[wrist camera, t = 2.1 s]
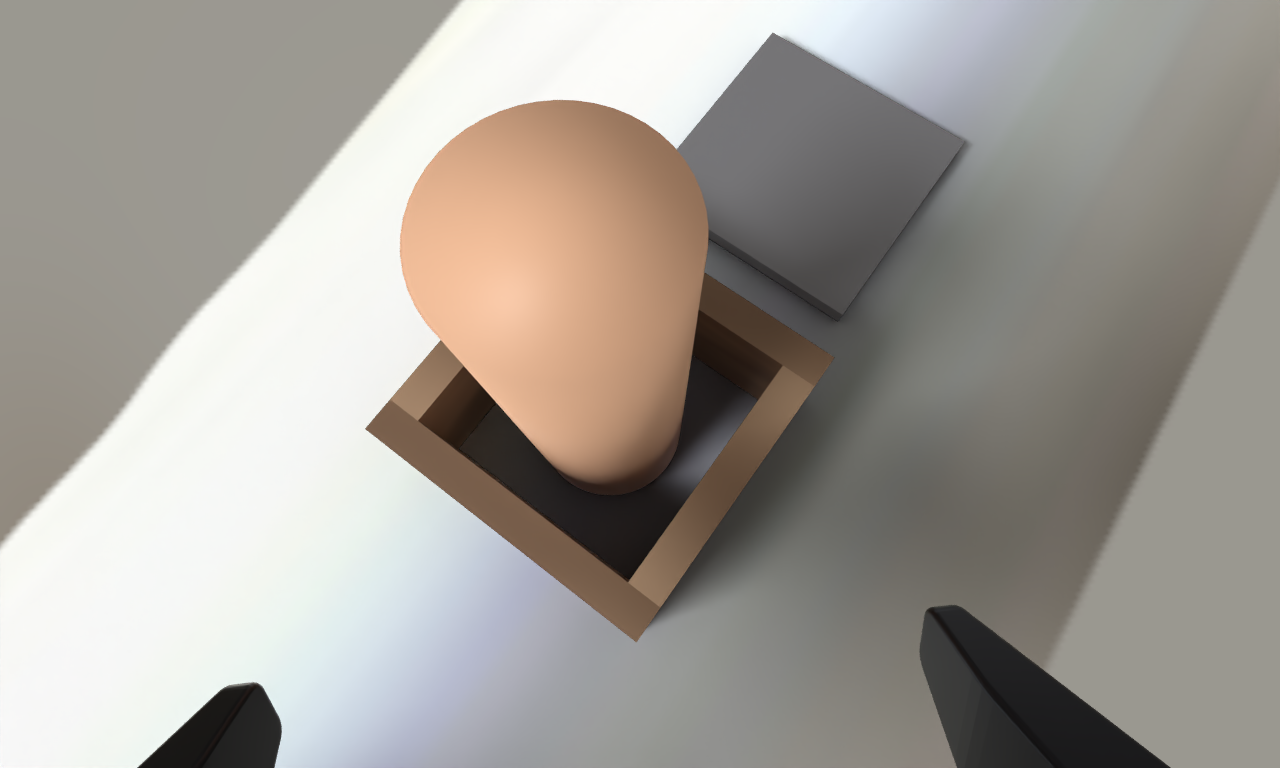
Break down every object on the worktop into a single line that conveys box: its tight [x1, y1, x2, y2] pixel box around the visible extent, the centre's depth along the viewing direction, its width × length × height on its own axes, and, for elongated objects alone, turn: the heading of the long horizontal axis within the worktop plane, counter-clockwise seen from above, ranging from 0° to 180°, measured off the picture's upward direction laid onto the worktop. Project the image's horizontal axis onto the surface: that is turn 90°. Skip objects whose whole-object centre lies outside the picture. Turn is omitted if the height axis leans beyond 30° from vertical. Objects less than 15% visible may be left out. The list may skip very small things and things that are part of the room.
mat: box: [677, 33, 965, 321], centre depth 25 cm, size 8×8×1 cm
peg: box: [400, 100, 709, 495], centre depth 16 cm, size 4×4×13 cm
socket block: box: [365, 273, 834, 642], centre depth 21 cm, size 9×9×4 cm
